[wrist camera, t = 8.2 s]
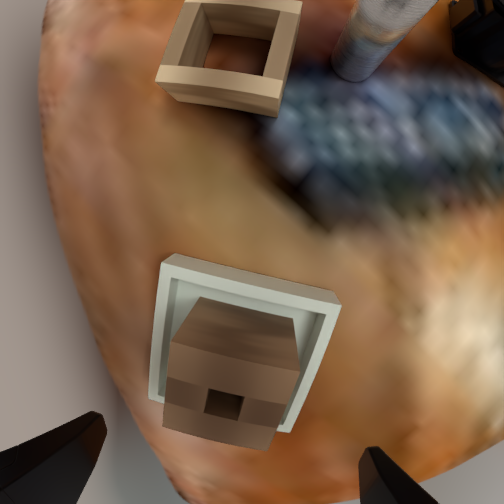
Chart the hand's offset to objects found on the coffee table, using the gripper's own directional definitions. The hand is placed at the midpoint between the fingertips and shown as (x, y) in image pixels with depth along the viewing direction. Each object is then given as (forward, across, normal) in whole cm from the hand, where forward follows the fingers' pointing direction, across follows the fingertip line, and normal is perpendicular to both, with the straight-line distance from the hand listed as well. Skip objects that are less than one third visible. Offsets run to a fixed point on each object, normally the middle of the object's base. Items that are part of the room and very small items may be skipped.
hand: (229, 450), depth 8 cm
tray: (+12, +1, +2) cm, 12 cm away
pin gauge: (+12, -5, -17) cm, 21 cm away
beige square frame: (+12, +2, -16) cm, 20 cm away
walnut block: (+11, +1, +2) cm, 11 cm away
